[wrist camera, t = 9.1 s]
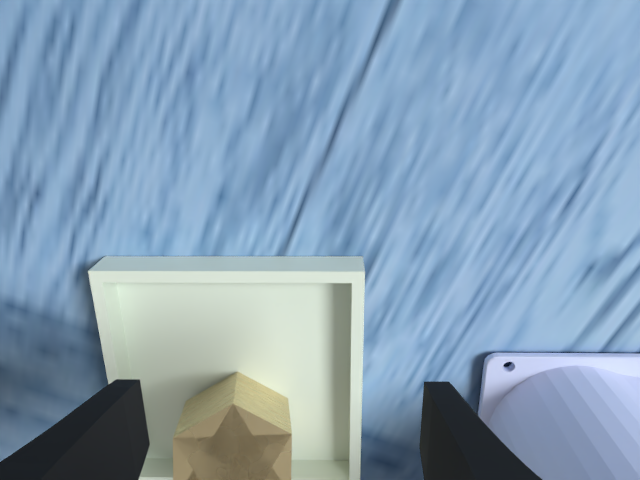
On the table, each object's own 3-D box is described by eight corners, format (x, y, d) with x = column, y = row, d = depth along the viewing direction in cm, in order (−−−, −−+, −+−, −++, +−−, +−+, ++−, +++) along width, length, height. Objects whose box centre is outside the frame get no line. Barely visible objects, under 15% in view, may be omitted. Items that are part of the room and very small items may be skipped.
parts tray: (362, 256, 21) (364, 271, 20) (358, 462, 25) (360, 488, 24) (105, 256, 22) (87, 271, 20) (138, 459, 25) (126, 485, 24)
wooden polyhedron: (288, 370, 23) (292, 402, 20) (286, 479, 24) (290, 527, 21) (185, 372, 23) (172, 404, 19) (186, 483, 23) (173, 534, 20)
